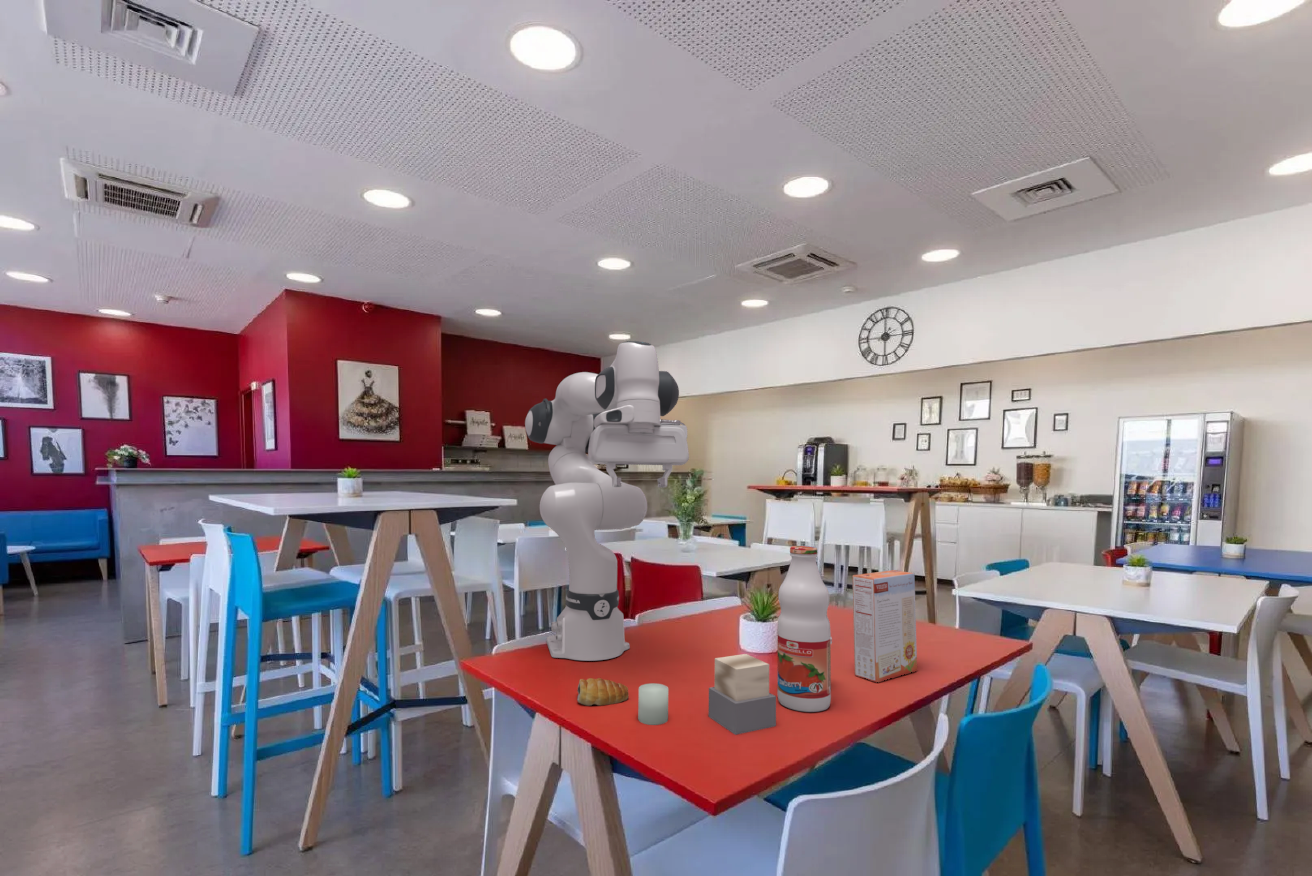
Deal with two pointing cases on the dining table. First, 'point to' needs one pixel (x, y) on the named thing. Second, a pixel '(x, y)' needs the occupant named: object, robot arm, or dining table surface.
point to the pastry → (601, 692)
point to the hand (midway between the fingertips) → (639, 487)
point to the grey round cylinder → (653, 704)
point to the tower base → (742, 712)
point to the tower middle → (741, 677)
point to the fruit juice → (804, 635)
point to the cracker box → (884, 625)
